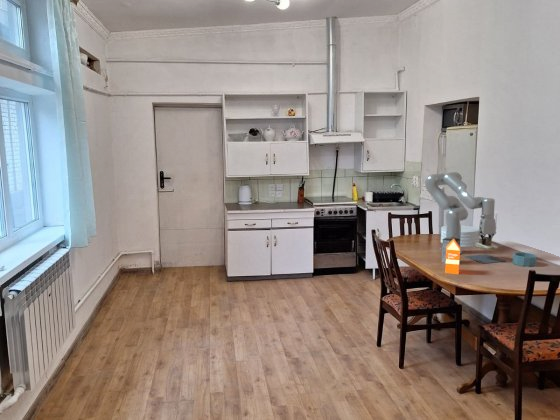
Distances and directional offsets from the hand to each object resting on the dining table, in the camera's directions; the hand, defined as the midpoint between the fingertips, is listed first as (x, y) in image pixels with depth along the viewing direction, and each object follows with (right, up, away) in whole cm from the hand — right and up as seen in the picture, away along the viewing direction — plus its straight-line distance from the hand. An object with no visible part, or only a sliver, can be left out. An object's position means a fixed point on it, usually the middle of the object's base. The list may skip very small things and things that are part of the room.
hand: (486, 243), depth 302 cm
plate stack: (+2, -3, +51) cm, 51 cm away
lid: (0, -2, 0) cm, 2 cm away
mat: (0, -11, +2) cm, 11 cm away
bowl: (+20, -12, -10) cm, 25 cm away
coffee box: (-26, -12, -5) cm, 29 cm away
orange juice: (-33, -15, -26) cm, 44 cm away
